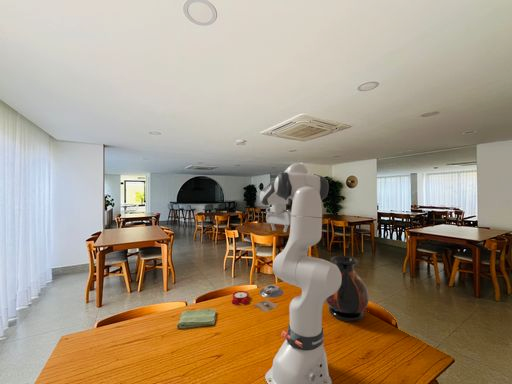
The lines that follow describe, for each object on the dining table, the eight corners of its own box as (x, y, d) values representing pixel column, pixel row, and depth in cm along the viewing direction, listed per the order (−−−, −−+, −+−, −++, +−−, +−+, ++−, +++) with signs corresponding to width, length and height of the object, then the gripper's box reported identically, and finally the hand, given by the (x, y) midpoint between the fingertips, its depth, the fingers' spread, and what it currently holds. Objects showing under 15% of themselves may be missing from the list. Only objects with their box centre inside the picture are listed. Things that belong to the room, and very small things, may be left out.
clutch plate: (278, 292, 132) (278, 287, 133) (269, 296, 127) (269, 291, 128) (271, 289, 137) (271, 284, 137) (262, 292, 132) (262, 287, 132)
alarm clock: (249, 290, 131) (249, 295, 117) (249, 301, 130) (249, 307, 115) (232, 290, 131) (230, 295, 116) (232, 301, 129) (230, 308, 115)
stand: (265, 314, 109) (265, 310, 109) (253, 307, 117) (253, 303, 117) (279, 308, 116) (278, 303, 116) (266, 301, 123) (266, 297, 123)
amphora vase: (323, 301, 122) (322, 252, 123) (365, 306, 116) (363, 255, 117) (323, 322, 102) (322, 263, 103) (373, 330, 95) (371, 267, 96)
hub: (271, 302, 122) (271, 295, 122) (254, 293, 134) (254, 287, 134) (288, 294, 132) (288, 288, 132) (271, 287, 143) (271, 281, 144)
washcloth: (215, 326, 100) (215, 319, 100) (176, 331, 97) (176, 323, 97) (216, 312, 113) (216, 306, 113) (181, 315, 110) (181, 309, 110)
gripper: (295, 209, 128) (295, 232, 128) (271, 208, 144) (271, 229, 144) (288, 210, 124) (288, 233, 124) (264, 209, 140) (264, 230, 139)
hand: (279, 231), depth 134 cm, fingers open, 8 cm apart
